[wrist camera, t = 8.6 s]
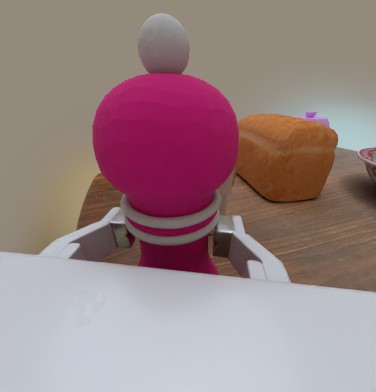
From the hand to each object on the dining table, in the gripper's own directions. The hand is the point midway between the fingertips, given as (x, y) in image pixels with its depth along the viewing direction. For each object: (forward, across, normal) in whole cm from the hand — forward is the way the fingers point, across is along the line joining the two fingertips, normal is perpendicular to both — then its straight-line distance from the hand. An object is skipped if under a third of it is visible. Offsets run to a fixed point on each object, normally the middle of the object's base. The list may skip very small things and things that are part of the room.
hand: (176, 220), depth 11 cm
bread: (+37, +17, -12) cm, 43 cm away
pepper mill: (-1, 0, -11) cm, 11 cm away
